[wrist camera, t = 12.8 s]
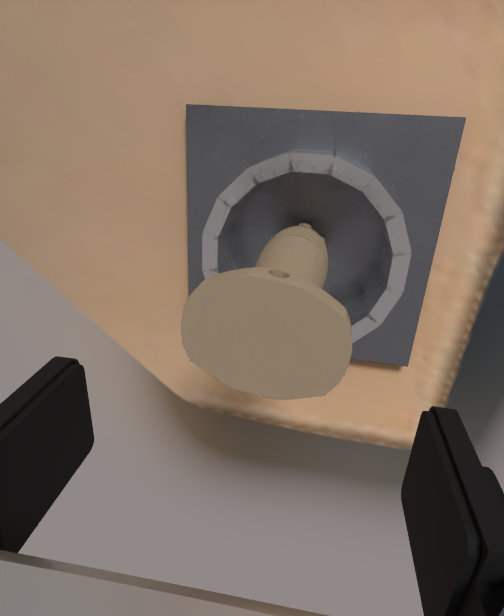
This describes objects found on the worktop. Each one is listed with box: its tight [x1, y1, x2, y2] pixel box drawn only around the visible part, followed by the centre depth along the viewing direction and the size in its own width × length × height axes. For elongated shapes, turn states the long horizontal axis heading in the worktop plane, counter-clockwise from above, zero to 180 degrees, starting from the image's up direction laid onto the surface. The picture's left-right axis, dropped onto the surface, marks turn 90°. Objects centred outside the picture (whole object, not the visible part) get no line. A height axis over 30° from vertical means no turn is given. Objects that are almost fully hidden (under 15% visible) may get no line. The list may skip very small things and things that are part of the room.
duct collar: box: [186, 104, 466, 367], centre depth 28 cm, size 17×17×5 cm
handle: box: [181, 223, 352, 400], centre depth 22 cm, size 5×6×15 cm
